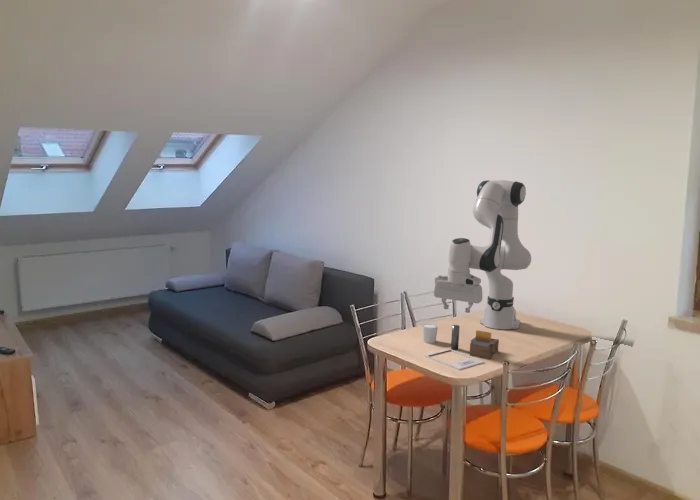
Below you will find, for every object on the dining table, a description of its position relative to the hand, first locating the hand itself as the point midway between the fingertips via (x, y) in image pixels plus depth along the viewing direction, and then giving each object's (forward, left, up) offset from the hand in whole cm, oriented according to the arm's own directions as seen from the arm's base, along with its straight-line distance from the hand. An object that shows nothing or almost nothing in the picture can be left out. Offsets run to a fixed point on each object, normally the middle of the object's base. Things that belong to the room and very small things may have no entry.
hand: (456, 310), depth 229 cm
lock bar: (+2, +12, -11) cm, 17 cm away
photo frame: (+13, +5, -17) cm, 22 cm away
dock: (-2, +12, -17) cm, 20 cm away
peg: (0, 0, -17) cm, 17 cm away
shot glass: (-3, -13, -17) cm, 22 cm away
